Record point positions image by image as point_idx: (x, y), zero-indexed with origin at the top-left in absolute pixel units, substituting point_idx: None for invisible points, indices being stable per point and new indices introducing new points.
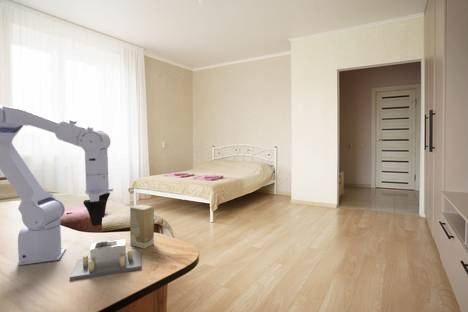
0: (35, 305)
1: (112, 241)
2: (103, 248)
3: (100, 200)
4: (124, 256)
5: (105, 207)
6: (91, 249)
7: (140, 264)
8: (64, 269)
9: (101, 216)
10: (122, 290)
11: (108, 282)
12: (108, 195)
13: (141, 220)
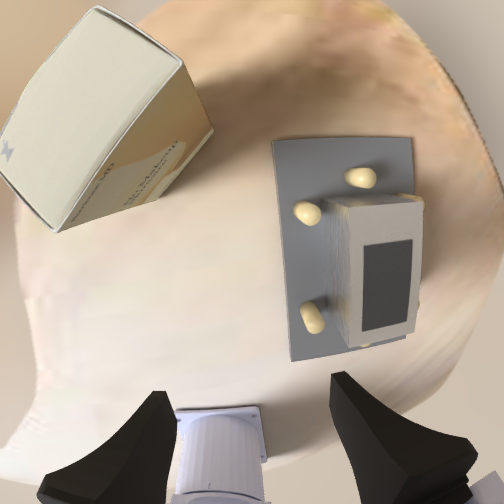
0: (461, 348)
1: (366, 267)
2: (417, 287)
3: (418, 498)
4: (415, 197)
5: (143, 432)
6: (414, 328)
7: (400, 139)
8: (328, 372)
9: (375, 402)
10: (483, 191)
11: (447, 231)
12: (101, 500)
13: (181, 116)
